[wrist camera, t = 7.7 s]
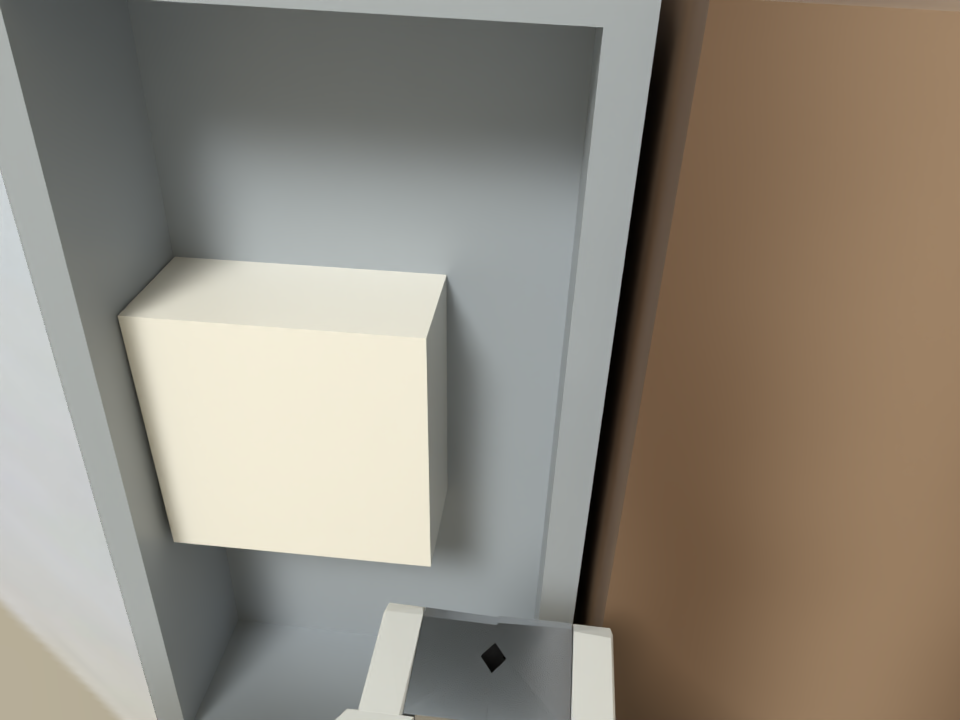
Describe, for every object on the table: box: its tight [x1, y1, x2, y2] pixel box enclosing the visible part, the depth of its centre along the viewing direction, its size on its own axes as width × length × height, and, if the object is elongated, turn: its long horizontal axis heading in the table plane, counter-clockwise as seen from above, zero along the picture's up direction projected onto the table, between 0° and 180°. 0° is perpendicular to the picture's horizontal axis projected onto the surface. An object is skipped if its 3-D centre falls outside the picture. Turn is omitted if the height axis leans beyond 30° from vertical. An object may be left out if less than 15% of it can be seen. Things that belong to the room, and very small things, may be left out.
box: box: [0, 0, 661, 720], centre depth 15 cm, size 8×16×4 cm, turn 178°
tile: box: [118, 257, 448, 567], centre depth 15 cm, size 5×5×2 cm
